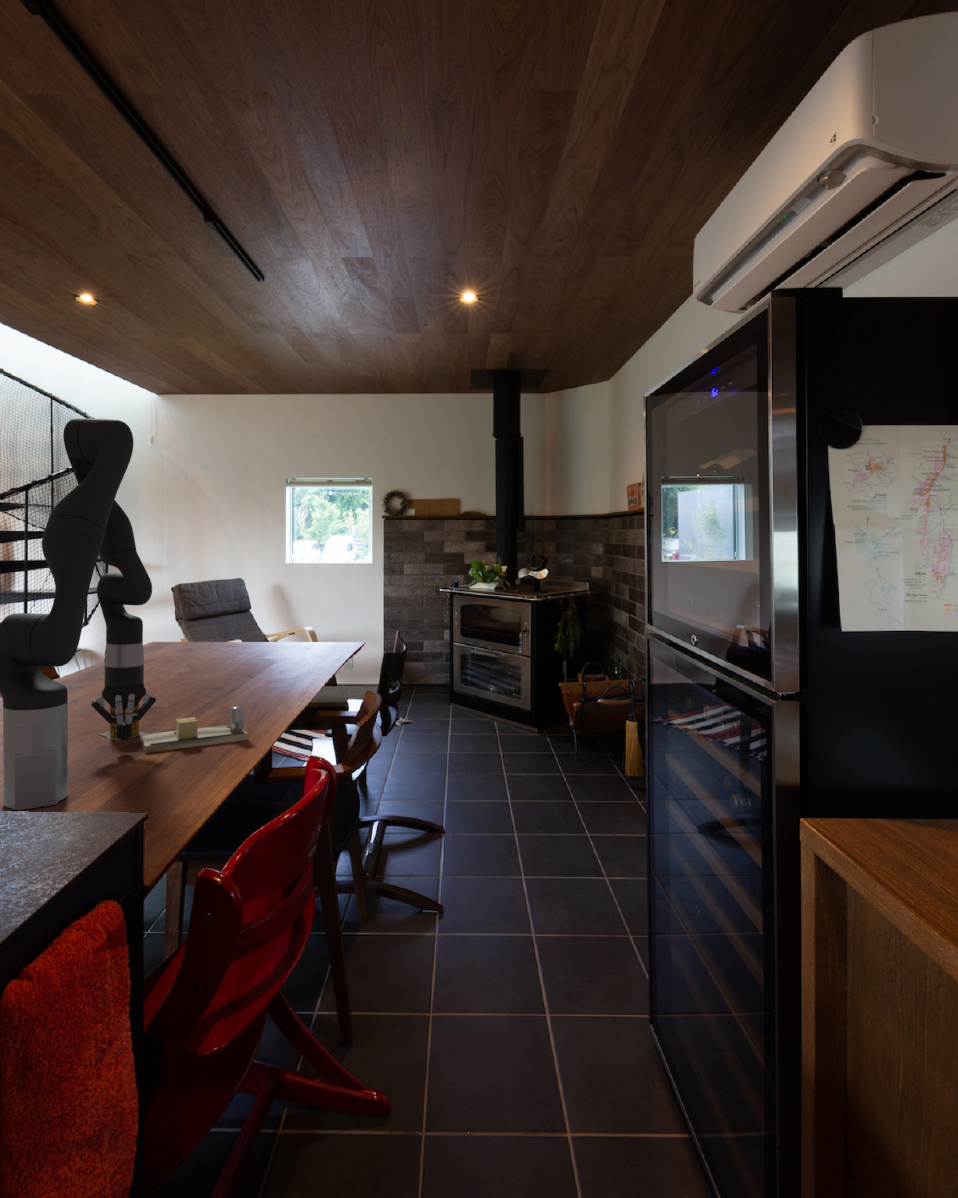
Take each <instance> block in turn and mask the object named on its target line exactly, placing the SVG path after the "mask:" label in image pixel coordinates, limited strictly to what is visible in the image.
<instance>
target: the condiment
mask: <svg viewBox="0 0 958 1198" xmlns="http://www.w3.org/2000/svg"><path fill="white" fill-rule="evenodd" d="M139 709H140V702H139V703H138V704H137V705H136V706H135V707H134V709H133V715H134V714H135V713H136V712H137V711H138V710H139ZM122 710H123V723H125V714H126V708H124V709H122ZM109 713H110V714H111V715H112V716H114V717H116V712H115V709H114V708H112V707H111V706H110V705H109ZM139 722H140V720H138V721H134V722H133V723H132V735H131V739H132V738H136V737H138V736H141V735H144V734H148V732H144V731H141V730H140V723H139ZM109 730H110V731H107V732H103V733H98V735H100V736H103V737H106V738H108V739H111V740H115V741H120V739H118V738H117V736H116V724H114V723H109Z"/></svg>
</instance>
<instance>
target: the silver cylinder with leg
mask: <svg viewBox="0 0 958 1198" xmlns="http://www.w3.org/2000/svg"><path fill="white" fill-rule="evenodd" d="M229 725H230V733H241V732H243V729H244V706H242V705H241V706H240V705H235V706H230V708H229Z"/></svg>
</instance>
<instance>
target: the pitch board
mask: <svg viewBox="0 0 958 1198" xmlns="http://www.w3.org/2000/svg"><path fill="white" fill-rule="evenodd" d="M248 739H249V734H248V732H247V731H246V729H244V728H243V732H241V733H230V724H225V725H218V726H217V725H215V726H207V727H197V738H191V739H183V740H178V738H177V737H176V730H173V731H170V730H169V731H165V732H163V731H162V732H154V733H147V734H142V735H140V744H141V745H142V749H143V751H144V754H146V753H147V754H148V753H155V752H162V751H163V752H164V751H170V750H178V749H185V748H186V749H187V748H195V747H200V746H208V745H217V744H225V743H226V744H227V743H233V742H240V741H248Z"/></svg>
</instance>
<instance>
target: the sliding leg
mask: <svg viewBox="0 0 958 1198" xmlns="http://www.w3.org/2000/svg"><path fill="white" fill-rule="evenodd" d="M198 722H199V721H198V720H197V719H196V717H195V716H193V717H192V716H190V717H184V718H183V717H181V718H176V719H175V731H176V737H177V738H178V740H183V739H191V738H197V728H199V725H198V724H199V723H198Z"/></svg>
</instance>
